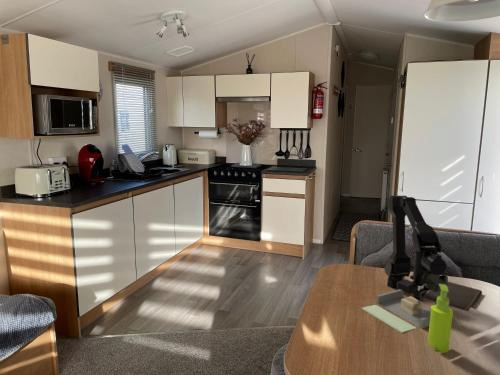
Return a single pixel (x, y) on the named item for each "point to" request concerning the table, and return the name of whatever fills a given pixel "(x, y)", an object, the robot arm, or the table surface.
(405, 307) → the beech block
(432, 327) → the soap dispenser
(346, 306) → the table surface
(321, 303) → the table surface
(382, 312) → the panel
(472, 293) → the hardcover book
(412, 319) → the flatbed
